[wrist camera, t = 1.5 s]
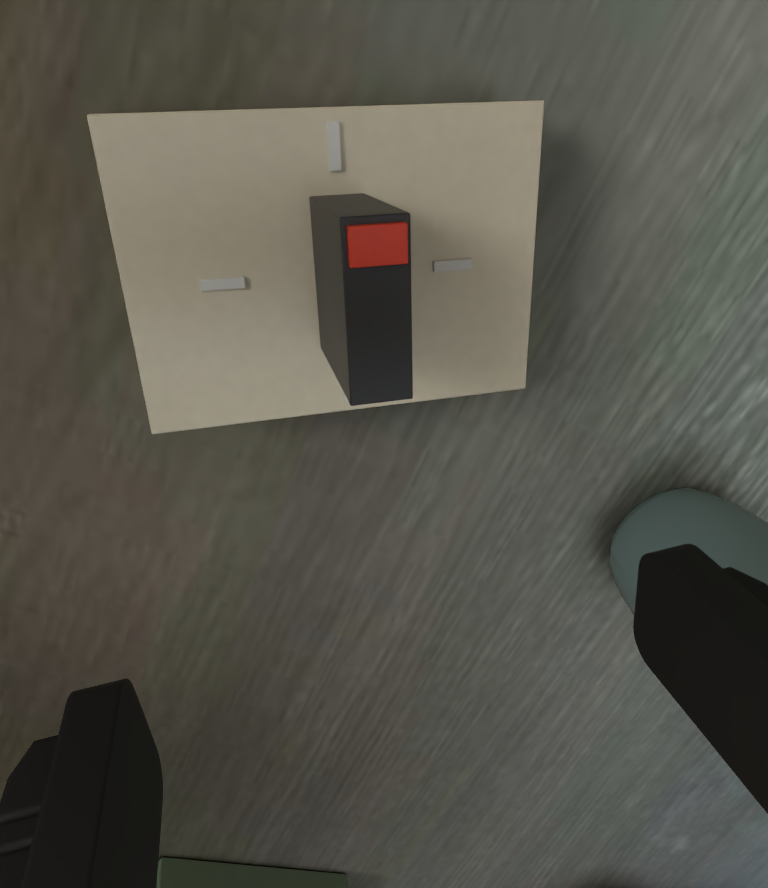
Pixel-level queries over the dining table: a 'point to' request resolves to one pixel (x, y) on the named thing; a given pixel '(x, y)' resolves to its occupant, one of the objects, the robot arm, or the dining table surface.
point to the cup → (688, 535)
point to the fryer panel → (291, 247)
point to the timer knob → (364, 295)
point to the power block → (239, 876)
